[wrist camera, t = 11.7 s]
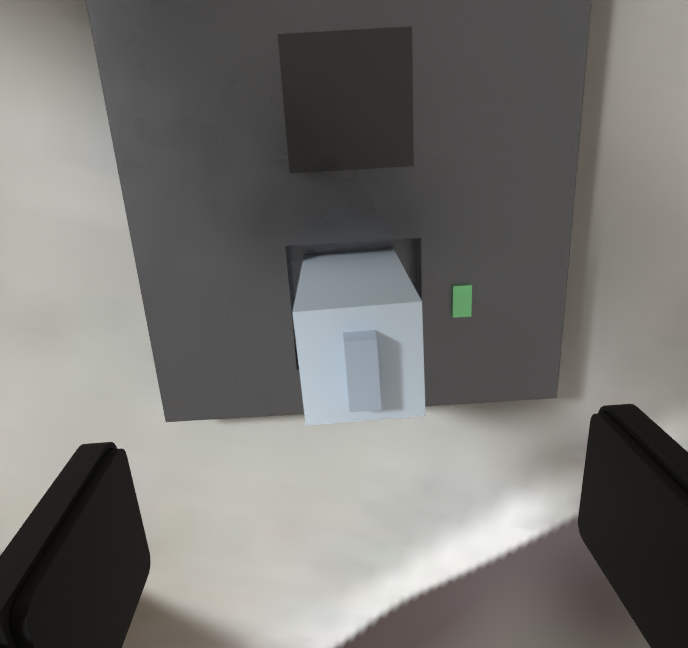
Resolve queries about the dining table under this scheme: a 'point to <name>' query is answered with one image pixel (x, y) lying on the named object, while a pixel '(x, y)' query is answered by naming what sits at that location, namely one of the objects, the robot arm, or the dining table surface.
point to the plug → (358, 338)
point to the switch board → (345, 180)
